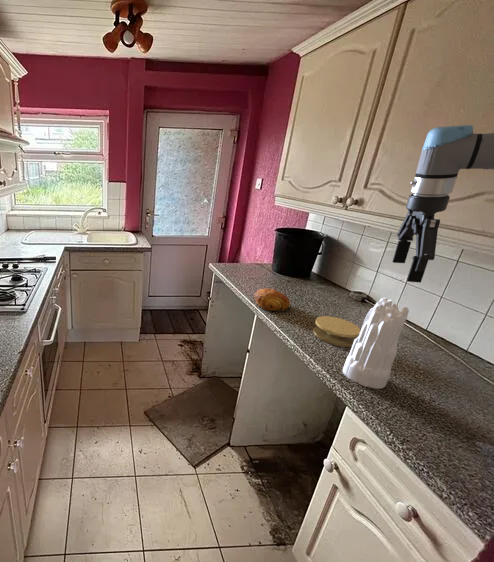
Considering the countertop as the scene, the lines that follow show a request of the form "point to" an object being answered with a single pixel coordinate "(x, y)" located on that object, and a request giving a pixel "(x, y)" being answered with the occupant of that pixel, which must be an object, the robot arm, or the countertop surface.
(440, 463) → the countertop surface
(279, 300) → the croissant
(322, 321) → the stand
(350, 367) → the decorative vase
